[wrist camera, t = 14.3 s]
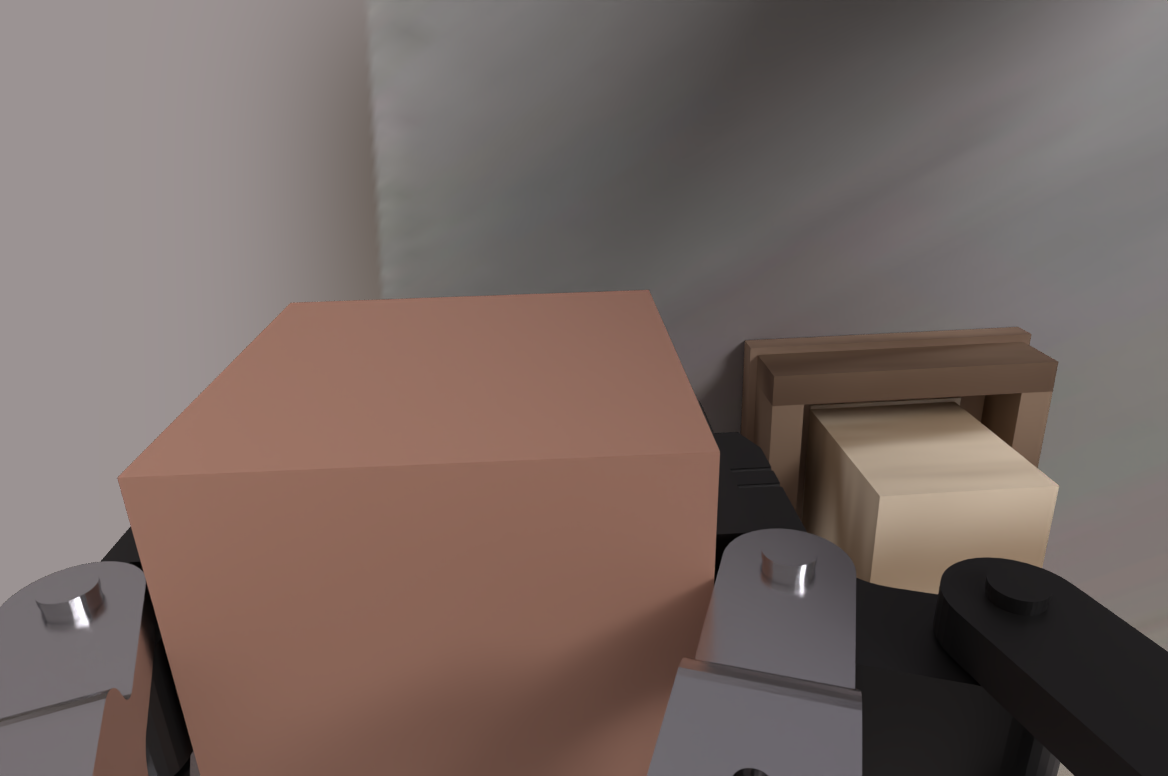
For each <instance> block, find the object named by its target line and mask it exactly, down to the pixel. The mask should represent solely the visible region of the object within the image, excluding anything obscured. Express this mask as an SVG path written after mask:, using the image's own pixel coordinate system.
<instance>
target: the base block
mask: <svg viewBox="0 0 1168 776" xmlns="http://www.w3.org/2000/svg"><path fill="white" fill-rule="evenodd" d="M1058 489H1059V485H1058V484H1056V483H1055V482H1054V481H1053V480H1051V479H1050V478H1049V477H1048V476H1046V475H1045V474H1044V473H1043V472H1041V471H1040V470H1039V469H1038V468H1036V467H1035V466H1034V465H1033V464H1031V463H1030V462H1029V461H1028V460H1027V459H1025V458H1024V457H1023V456H1022V455H1020V454H1019V453H1018V452H1017V451H1015V450H1014V449H1013V448H1012V447H1010V446H1009V445H1008V444H1007V443H1005V442H1004V441H1003V440H1002V439H1000V438H999V437H998V436H997V435H995V434H994V433H993V432H992V431H991V430H989V429H988V428H987V427H986V426H984V425H983V424H982V423H981V422H979V421H978V420H977V419H976V418H974V417H973V416H972V415H971V414H969V413H968V412H967V411H966V410H964V409H963V408H962V407H961V406H959V405H958V404H957V403H956V402H936V403H918V404H900V405H882V406H863V407H845V408H827V409H811V411H810V425H809V438H808V451H807V464H806V478H805V491H804V504H803V517H802V524H803V526H804V527H805V529H806V531H807V533H810V534H814V535H817V536H819V537H822V538H824V539H826V540H828V541H830V542H832V543H834V544H835V545H837V546H838V547H840V548H841V549H842V550H843V551H844V552H845V553H847V554H848V556H849V557H850V558H851V560H852V561H853V563H854V566H855V569H856V578H859V579H861V580H864V581H867V582H870V583H874V584H877V585H882V586H887V587H892V588H899V589H905V590H912V591H919V592H925V593H932V594H938V592H939V586H940V581H941V577H942V575H943V573H944V571H945V570H946V569H947V568H949V567H950V566H951V565H953V564H955V563H957V562H959V561H963V560H966V559H972V558H983V557H991V558H1003V559H1010V560H1016V561H1020V562H1024V563H1028V564H1031V565H1034V566H1037V567H1040V568H1042V566H1043V561H1044V556H1045V551H1046V547H1047V542H1048V537H1049V532H1050V527H1051V522H1052V518H1053V513H1054V508H1055V503H1056V498H1057V493H1058Z"/></svg>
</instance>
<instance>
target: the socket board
mask: <svg viewBox="0 0 1168 776" xmlns="http://www.w3.org/2000/svg"><path fill="white" fill-rule="evenodd" d="M1030 339H1031V334H1030V333H1028V332H1026V331H1025V330H1023V329H1021V328H1019V327H1008V328H988V329H968V330H948V331H927V332H907V333H887V334H866V335H846V336H826V337H806V338H785V339H765V340H745V348H744V371H743V394H742V418H741V435H743V436H744V437H746V438H747V439H749V440H750V441H751V442H753V443H754V444H756V445H757V446H759V447H760V448H761V449H762V451H763V453H764V454H765V456H766V458H767V460H768V462H769V464H770V465H771V470H772V471H774V473H775V475H776V476H777V478H778V480H779V482H780V487H783V489H784V491H785V493H786V495H787V496H788V498H789V500H790V502H791V504H792V506H793V507H794V509H795V511H796V513H797V515H798V516H799V518H800V520H801V522H802V517H803V504H804V491H805V478H806V464H807V451H808V438H809V425H810V411H811V409H827V408H845V407H863V406H882V405H900V404H918V403H936V402H956V403H957V404H958V405H959V406H961V407H962V408H963V409H964V410H966V411H967V412H968V413H969V414H971V415H972V416H973V417H974V418H976V419H977V420H978V421H979V422H981V423H982V424H983V425H984V426H986V427H987V428H988V429H989V430H991V431H992V432H993V433H994V434H995V435H997V436H998V437H999V438H1000V439H1002V440H1003V441H1004V442H1005V443H1007V444H1008V445H1009V446H1010V447H1012V448H1013V449H1014V450H1015V451H1017V452H1018V453H1019V454H1020V455H1022V456H1023V457H1024V458H1025V459H1027V460H1028V461H1029V462H1030V463H1031V464H1033V465H1034V466H1035V467H1036V468H1038V463H1039V458H1040V453H1041V448H1042V443H1043V438H1044V433H1045V427H1046V422H1047V417H1048V412H1049V407H1050V402H1051V397H1052V392H1053V387H1054V382H1055V376H1056V371H1057V366H1058V361H1056V360H1054V359H1052V358H1051V357H1049V356H1047V355H1045V354H1044V353H1042V352H1040V351H1038V350H1037V349H1035V348H1033V347H1031V346H1030V345H1029V344H1030Z"/></svg>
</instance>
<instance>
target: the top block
mask: <svg viewBox="0 0 1168 776" xmlns="http://www.w3.org/2000/svg"><path fill="white" fill-rule="evenodd" d="M719 464H720V450H719V448H718V446H717V444H716V441H715V439H714V437H713V435H712V432H711V430H710V428H709V425H708V423H707V421H706V419H705V416H704V414H703V412H702V410H701V407H700V405H699V403H698V401H697V398H696V396H695V394H694V391H693V389H692V387H691V385H690V382H689V380H688V378H687V376H686V373H685V371H684V369H683V366H682V364H681V362H680V360H679V357H678V355H677V353H676V351H675V348H674V346H673V344H672V342H671V339H670V337H669V335H668V332H667V330H666V328H665V326H664V323H663V321H662V319H661V317H660V314H659V312H658V310H657V307H656V305H655V303H654V301H653V298H652V296H651V294H650V292H649V290H631V291H604V292H576V293H548V294H520V295H493V296H465V297H437V298H409V299H382V300H354V301H326V302H299V303H290V304H289V305H288V306H287V307H286V308H285V309H284V310H283V311H282V312H281V313H280V314H279V315H278V316H277V317H276V318H275V319H274V320H273V321H272V322H271V323H270V324H269V325H268V326H267V327H266V328H265V329H264V330H263V331H262V332H261V333H260V334H259V335H258V336H257V337H256V338H255V339H254V340H253V341H252V342H251V343H250V344H249V345H248V346H247V347H246V348H245V349H244V350H243V351H242V352H241V353H240V355H239V356H237V357H236V358H235V360H233V362H231V364H230V365H229V366H228V367H227V368H226V369H225V370H224V371H223V372H222V373H221V374H220V375H219V376H218V377H217V378H216V379H215V380H214V381H213V382H212V383H211V384H210V385H209V386H208V387H207V388H206V389H205V390H204V391H203V392H202V393H201V394H200V395H199V396H198V397H197V398H196V399H195V400H194V401H193V402H192V403H191V404H190V405H189V406H188V407H187V408H186V409H185V410H184V411H183V412H182V413H181V414H180V415H179V416H178V417H177V418H176V419H175V420H174V421H173V422H172V423H171V424H170V425H169V426H168V427H167V428H166V429H165V430H164V431H163V432H162V433H161V434H160V435H159V436H158V437H157V438H156V439H155V440H154V441H153V443H151V444H150V445H149V446H148V447H147V448H146V449H145V450H144V451H143V452H142V453H141V454H140V455H139V457H137V458H136V459H135V460H134V462H132V463H131V464H130V465H129V466H128V467H127V469H125V470H124V471H123V472H122V474H121V475H120V476H119V477H118V482H119V485H120V489H121V493H122V496H123V500H124V503H125V507H126V511H127V514H128V518H129V521H130V525H131V528H132V532H133V536H134V539H135V543H136V546H137V550H138V554H139V557H140V561H141V564H142V568H143V572H144V575H145V579H146V582H147V586H148V589H149V593H150V597H151V600H152V604H153V607H154V611H155V615H156V618H157V622H158V625H159V629H160V632H161V636H162V640H163V643H164V647H165V650H166V654H167V658H168V661H169V665H170V668H171V672H172V675H173V679H174V683H175V686H176V690H177V693H178V697H179V701H180V704H181V708H182V711H183V715H184V719H185V722H186V726H187V729H188V733H189V736H190V740H191V744H192V747H193V751H194V754H195V758H196V762H197V765H198V769H199V772H200V776H647V773H648V770H649V766H650V763H651V759H652V756H653V753H654V749H655V746H656V742H657V739H658V735H659V732H660V729H661V725H662V722H663V718H664V715H665V712H666V708H667V705H668V701H669V698H670V694H671V691H672V688H673V684H674V681H675V677H676V674H677V671H678V668H679V665H680V663H681V661H682V659H683V658H684V657H689V658H694V659H695V655H696V652H697V648H698V644H699V640H700V637H701V633H702V629H703V626H704V622H705V618H706V615H707V611H708V607H709V604H710V600H711V596H712V592H713V589H714V573H715V552H716V530H717V508H718V486H719Z"/></svg>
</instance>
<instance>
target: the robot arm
mask: <svg viewBox="0 0 1168 776" xmlns="http://www.w3.org/2000/svg"><path fill="white" fill-rule="evenodd" d="M698 403H699V405H700V407H701V410H702V412H703V414H704V416H705V419H706V421H707V423H708V425H709V428H710V430H711V432H712V435H713V437H714V439H715V441H716V444H717V446H718V448H719V450H720V464H719V486H718V508H717V530H716V552H715V573H714V589H713V592H712V596H711V600H710V604H709V607H708V611H707V615H706V618H705V622H704V626H703V629H702V633H701V637H700V640H699V644H698V648H697V652H696V655H695V659H694V658H689V657H684V658H683V659H682V661H681V663H680V665H679V668H678V671H677V674H676V677H675V681H674V684H673V688H672V691H671V694H670V698H669V701H668V705H667V708H666V712H665V715H664V718H663V722H662V725H661V729H660V732H659V735H658V739H657V742H656V746H655V749H654V753H653V756H652V759H651V763H650V766H649V770H648V773H647V776H1057V773H1058V769H1059V765H1060V762H1061V763H1062V764H1063V765H1064V766H1065V767H1066V768H1067V769H1068V770H1069V771H1070V772H1071V773H1072V774H1073V775H1074V776H1168V652H1167V651H1166V650H1165V649H1163V648H1162V647H1160V646H1159V645H1158V644H1156V643H1155V642H1153V641H1152V640H1150V639H1149V638H1148V637H1146V636H1145V635H1143V634H1142V633H1141V632H1139V631H1138V630H1136V629H1135V628H1134V627H1132V626H1131V625H1129V624H1128V623H1127V622H1125V621H1124V620H1122V619H1121V618H1119V617H1118V616H1117V615H1115V614H1114V613H1112V612H1111V611H1110V610H1108V609H1107V608H1105V607H1104V606H1103V605H1101V604H1100V603H1098V602H1097V601H1095V600H1094V599H1093V598H1091V597H1090V596H1088V595H1087V594H1086V593H1084V592H1083V591H1081V590H1080V589H1079V588H1077V587H1076V586H1074V585H1073V584H1071V583H1070V582H1068V581H1067V580H1065V579H1063V578H1062V577H1060V576H1058V575H1056V574H1054V573H1052V572H1050V571H1047V570H1045V569H1042V568H1040V567H1037V566H1034V565H1031V564H1028V563H1024V562H1020V561H1016V560H1010V559H1003V558H991V557H983V558H972V559H966V560H963V561H959V562H957V563H955V564H953V565H951V566H950V567H949V568H947V569H946V570H945V571H944V573H943V575H942V577H941V581H940V586H939V592H938V594H932V593H925V592H919V591H912V590H905V589H899V588H892V587H887V586H882V585H877V584H874V583H870V582H867V581H864V580H861V579H859V578H856V569H855V566H854V563H853V561H852V560H851V558H850V557H849V556H848V554H847V553H845V552H844V551H843V550H842V549H841V548H840V547H838V546H837V545H835V544H834V543H832V542H830V541H828V540H826V539H824V538H822V537H819V536H817V535H814V534H810V533H807V531H806V529H805V527H804V526H803V524H802V522H801V520H800V518H799V516H798V515H797V513H796V511H795V509H794V507H793V506H792V504H791V502H790V500H789V498H788V496H787V495H786V493H785V491H784V489H783V487H780V482H779V480H778V478H777V476H776V475H775V473H774V471H772V470H771V465H770V464H769V462H768V460H767V458H766V456H765V454H764V453H763V451H762V449H761V448H760V447H759V446H757V445H756V444H754V443H753V442H751V441H750V440H749V439H747V438H746V437H744V436H743V435H741V434H740V433H738V432H729V433H714V432H713V430H712V428H711V425H710V423H709V421H708V419H707V416H706V414H705V412H704V410H703V408H702V405H701V403H700V402H699V401H698ZM0 776H200V772H199V769H198V765H197V762H196V758H195V754H194V751H193V747H192V744H191V740H190V736H189V733H188V729H187V726H186V722H185V719H184V715H183V711H182V708H181V704H180V701H179V697H178V693H177V690H176V686H175V683H174V679H173V675H172V672H171V668H170V665H169V661H168V658H167V654H166V650H165V647H164V643H163V640H162V636H161V632H160V629H159V625H158V622H157V618H156V615H155V611H154V607H153V604H152V600H151V597H150V593H149V589H148V586H147V582H146V579H145V575H144V572H143V568H142V564H141V561H140V557H139V554H138V550H137V546H136V543H135V539H134V536H133V532H132V528H131V527H130V528H129V529H128V530H127V531H126V533H125V534H124V535H123V536H122V537H121V538H120V539H119V541H118V542H117V543H116V544H115V546H113V548H112V549H111V550H110V551H109V552H108V553H107V555H106V556H105V557H104V558H103V559H102V560H101V562H93V563H88V564H82V565H78V566H74V567H70V568H67V569H64V570H61V571H58V572H55V573H52V574H50V575H48V576H45V577H43V578H41V579H39V580H37V581H35V582H33V583H31V584H29V585H28V586H26V587H24V588H23V589H21V590H19V591H18V592H17V593H15V594H14V595H13V596H11V597H10V598H9V599H8V600H7V601H6V602H5V603H3V605H2V606H1V607H0Z"/></svg>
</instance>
